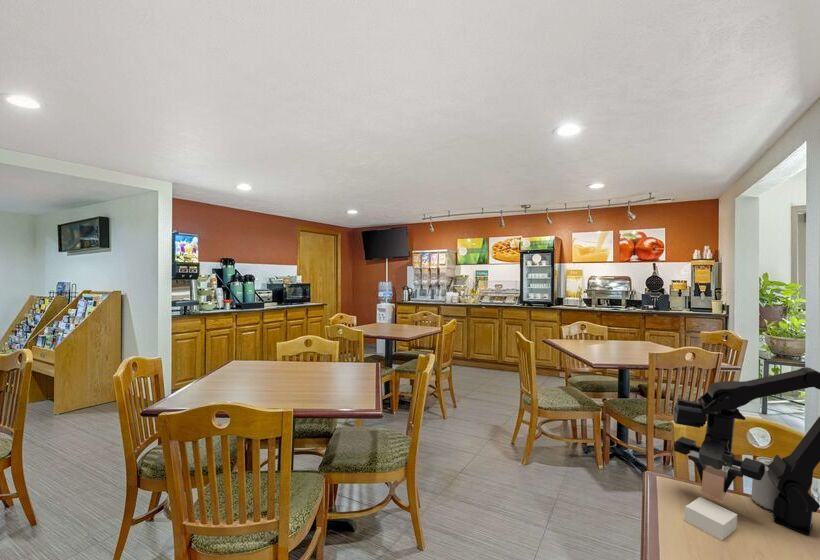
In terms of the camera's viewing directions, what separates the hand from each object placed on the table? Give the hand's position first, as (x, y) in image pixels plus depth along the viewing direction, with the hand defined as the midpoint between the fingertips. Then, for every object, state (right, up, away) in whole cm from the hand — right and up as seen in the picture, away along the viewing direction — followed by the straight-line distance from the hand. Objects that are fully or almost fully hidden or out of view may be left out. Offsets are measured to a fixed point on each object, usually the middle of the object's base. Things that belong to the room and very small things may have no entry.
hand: (714, 487), depth 107 cm
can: (+16, -6, +1) cm, 17 cm away
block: (0, -2, 0) cm, 2 cm away
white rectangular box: (-7, -5, -8) cm, 12 cm away
